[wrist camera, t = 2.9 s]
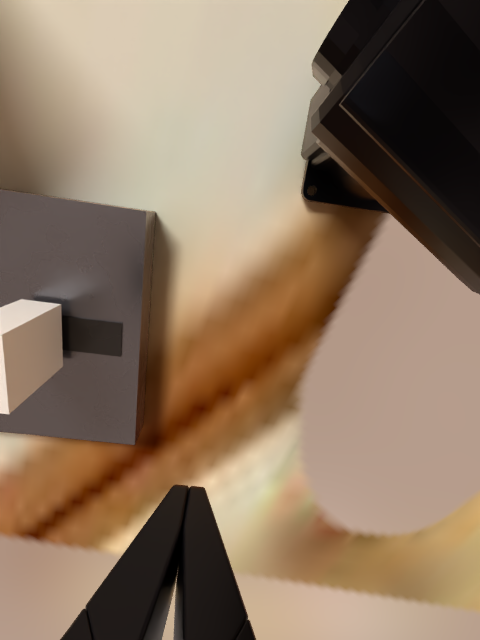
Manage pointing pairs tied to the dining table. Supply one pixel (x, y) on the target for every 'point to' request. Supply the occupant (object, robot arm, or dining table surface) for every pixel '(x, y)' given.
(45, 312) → the fader tab
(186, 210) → the dining table surface
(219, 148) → the dining table surface
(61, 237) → the console
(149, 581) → the robot arm
